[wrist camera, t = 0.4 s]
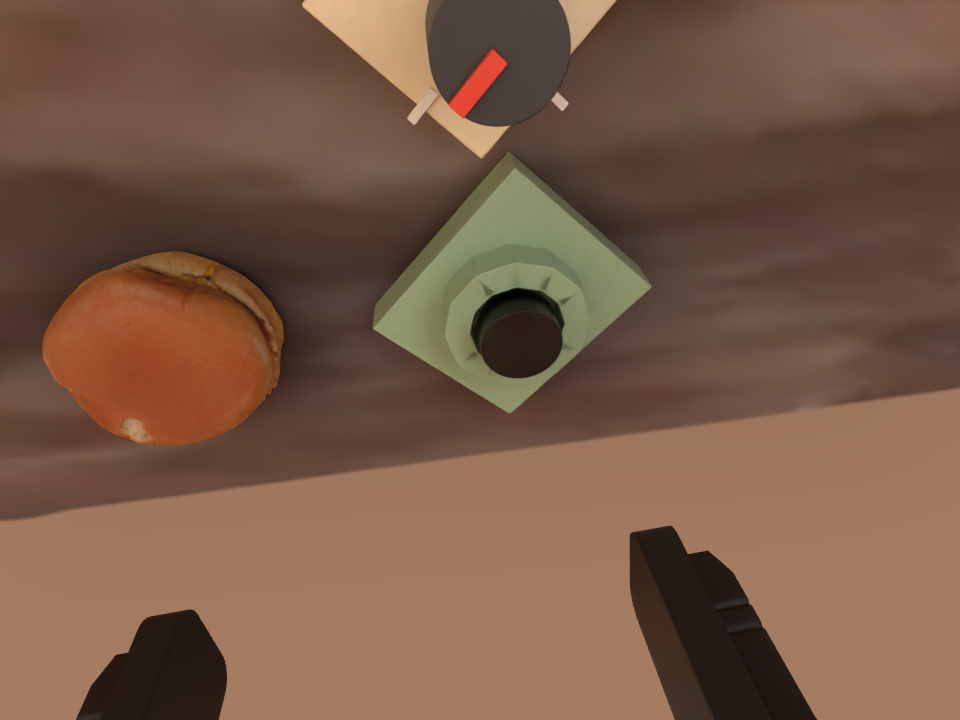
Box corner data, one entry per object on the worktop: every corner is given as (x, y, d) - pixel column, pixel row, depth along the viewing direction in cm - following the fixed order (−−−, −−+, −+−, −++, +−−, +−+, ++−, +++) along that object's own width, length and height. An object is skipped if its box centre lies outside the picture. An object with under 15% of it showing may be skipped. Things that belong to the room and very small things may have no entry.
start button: (514, 275, 26) (520, 295, 25) (571, 318, 28) (580, 340, 26) (460, 330, 28) (463, 352, 26) (518, 368, 29) (523, 391, 28)
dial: (477, -75, 19) (496, -72, 15) (564, 19, 21) (603, 45, 17) (401, 33, 21) (398, 64, 17) (488, 112, 23) (506, 158, 18)
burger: (288, 261, 29) (269, 314, 25) (281, 408, 34) (265, 470, 30) (56, 225, 27) (-2, 276, 23) (87, 388, 32) (44, 450, 28)
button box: (508, 150, 27) (521, 183, 23) (638, 265, 31) (665, 306, 27) (374, 305, 31) (370, 351, 27) (505, 388, 35) (514, 437, 31)
